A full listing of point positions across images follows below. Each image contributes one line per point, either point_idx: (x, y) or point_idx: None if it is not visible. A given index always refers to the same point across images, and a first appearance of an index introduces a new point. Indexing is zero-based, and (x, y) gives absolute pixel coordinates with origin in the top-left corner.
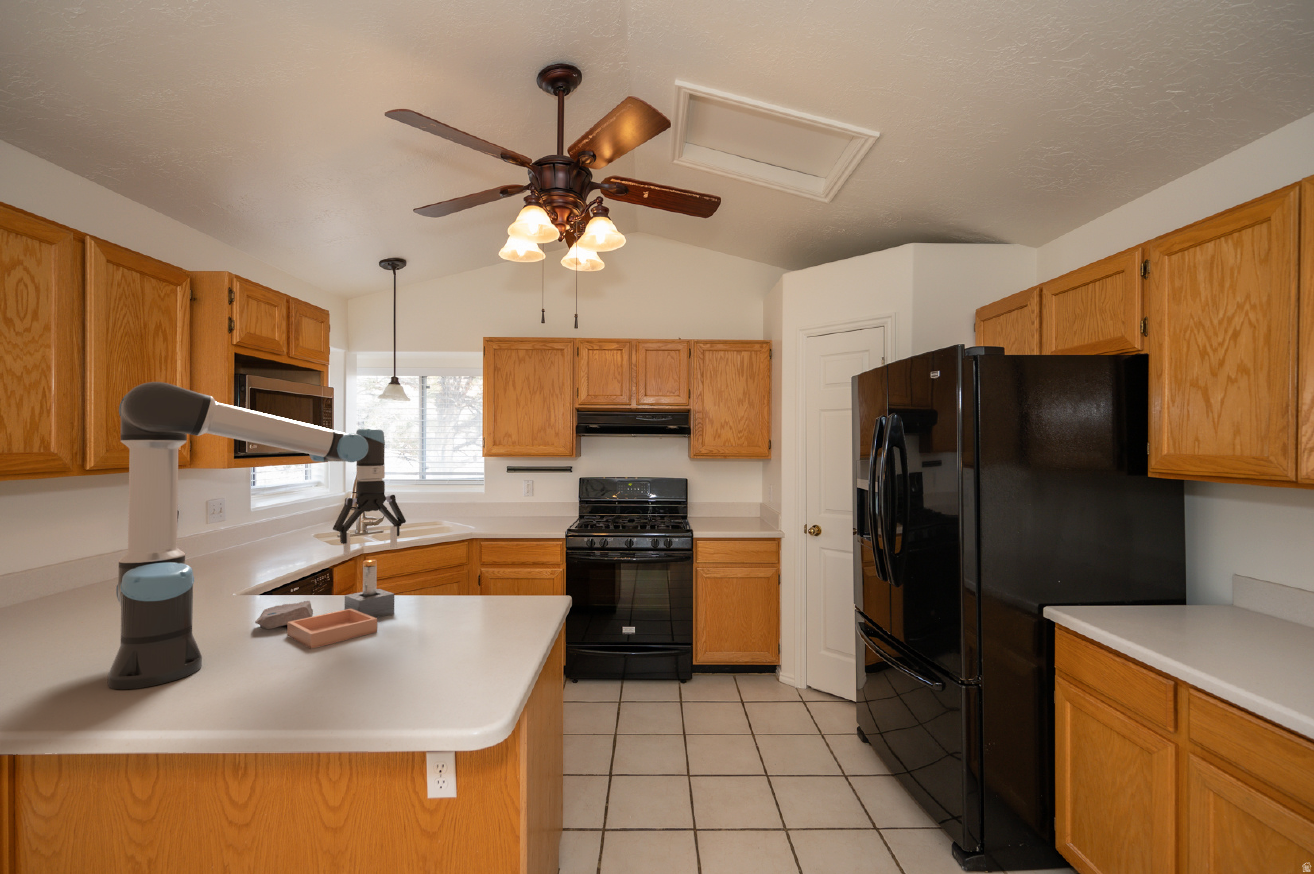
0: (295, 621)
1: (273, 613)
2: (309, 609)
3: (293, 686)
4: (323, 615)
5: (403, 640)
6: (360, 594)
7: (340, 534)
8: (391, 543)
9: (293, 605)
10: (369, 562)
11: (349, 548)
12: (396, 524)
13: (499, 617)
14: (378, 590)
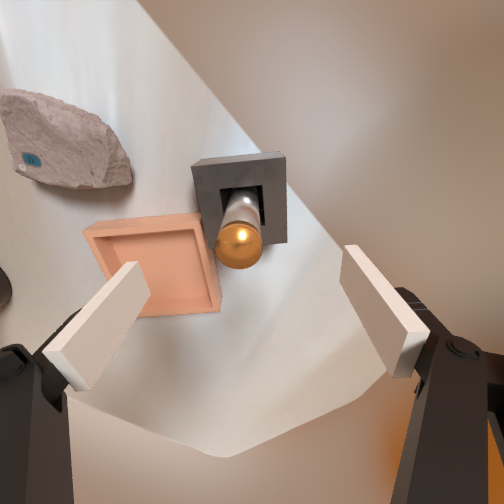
0: (96, 236)
1: (35, 160)
2: (115, 174)
3: (122, 376)
4: (145, 232)
5: (236, 342)
6: (226, 187)
7: (37, 354)
8: (349, 267)
9: (69, 148)
10: (231, 266)
11: (135, 313)
12: (420, 390)
13: (368, 344)
14: (275, 179)
